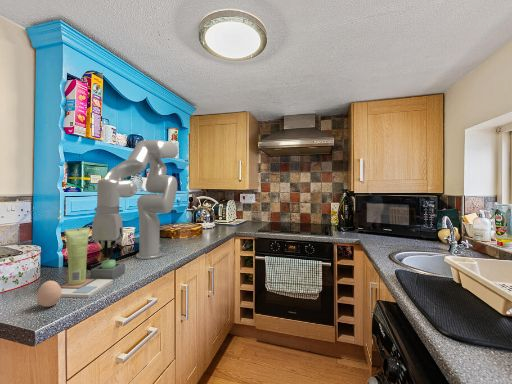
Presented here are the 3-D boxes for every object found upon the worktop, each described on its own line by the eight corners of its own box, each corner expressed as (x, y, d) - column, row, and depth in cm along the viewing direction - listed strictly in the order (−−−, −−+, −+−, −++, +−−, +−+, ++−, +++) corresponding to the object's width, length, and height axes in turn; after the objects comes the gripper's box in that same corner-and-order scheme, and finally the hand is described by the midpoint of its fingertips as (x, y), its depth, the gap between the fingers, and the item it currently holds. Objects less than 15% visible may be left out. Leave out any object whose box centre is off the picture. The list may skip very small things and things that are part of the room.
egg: (32, 308, 73) (32, 282, 73) (54, 300, 79) (54, 276, 78) (43, 312, 71) (43, 286, 71) (65, 303, 76) (65, 279, 76)
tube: (75, 279, 92) (75, 227, 92) (90, 279, 93) (89, 227, 92) (65, 285, 87) (64, 229, 86) (80, 285, 87) (80, 229, 86)
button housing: (104, 272, 103) (104, 262, 103) (124, 272, 103) (124, 263, 103) (90, 280, 95) (90, 269, 95) (112, 280, 95) (112, 270, 95)
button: (106, 269, 101) (106, 259, 101) (118, 269, 101) (118, 259, 101) (98, 273, 97) (98, 263, 97) (110, 273, 97) (110, 263, 96)
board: (75, 281, 94) (75, 277, 94) (113, 282, 93) (113, 279, 93) (45, 296, 81) (45, 292, 81) (88, 297, 80) (88, 294, 80)
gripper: (82, 211, 95) (82, 259, 95) (121, 212, 94) (121, 260, 94) (96, 209, 102) (95, 254, 102) (132, 210, 102) (131, 255, 102)
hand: (107, 257), depth 98 cm, fingers closed
